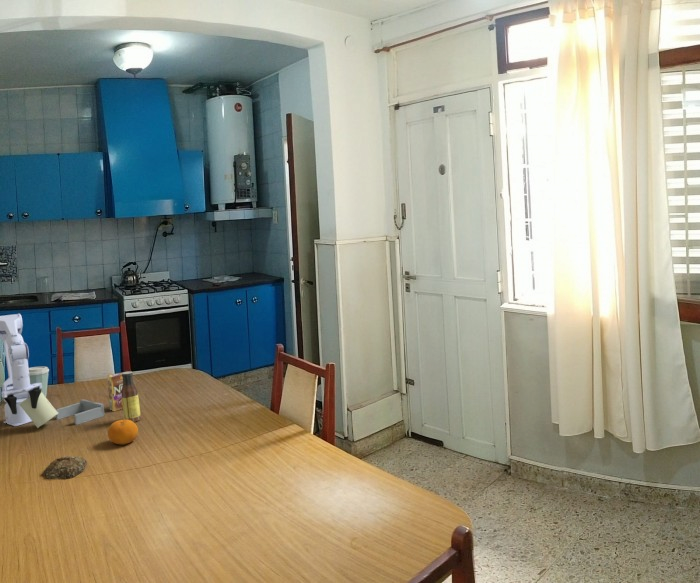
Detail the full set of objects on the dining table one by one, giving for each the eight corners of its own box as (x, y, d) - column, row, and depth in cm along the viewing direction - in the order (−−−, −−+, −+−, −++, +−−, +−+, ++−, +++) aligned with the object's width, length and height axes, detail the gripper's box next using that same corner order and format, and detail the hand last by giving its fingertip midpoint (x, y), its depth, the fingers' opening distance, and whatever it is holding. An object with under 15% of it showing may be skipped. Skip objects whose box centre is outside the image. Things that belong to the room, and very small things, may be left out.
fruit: (107, 449, 220) (105, 427, 219) (110, 439, 230) (108, 418, 229) (138, 445, 223) (136, 424, 222) (139, 435, 233) (138, 415, 232)
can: (40, 426, 249) (21, 402, 248) (60, 412, 251) (42, 388, 250) (35, 429, 240) (15, 404, 239) (56, 414, 243) (37, 390, 242)
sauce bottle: (143, 417, 253) (139, 370, 250) (136, 423, 247) (132, 374, 244) (128, 418, 254) (124, 370, 251) (121, 423, 248) (116, 374, 245)
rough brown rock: (91, 463, 208) (90, 449, 208) (77, 479, 196) (75, 464, 196) (53, 465, 208) (51, 451, 207) (36, 481, 196) (34, 466, 195)
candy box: (113, 412, 262) (110, 376, 260) (109, 409, 265) (106, 375, 263) (133, 406, 268) (130, 372, 266) (129, 404, 271) (126, 370, 270)
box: (56, 419, 255) (54, 407, 255) (84, 410, 266) (83, 399, 265) (76, 424, 247) (75, 412, 247) (104, 415, 258) (103, 404, 257)
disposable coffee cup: (26, 398, 288) (23, 366, 286) (52, 394, 292) (49, 363, 290) (25, 404, 278) (21, 371, 276) (51, 400, 283) (48, 368, 281)
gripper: (7, 382, 227) (11, 418, 228) (45, 372, 239) (48, 407, 240) (-3, 379, 231) (0, 415, 232) (34, 370, 243) (38, 404, 244)
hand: (24, 411), depth 237 cm, fingers open, 7 cm apart
